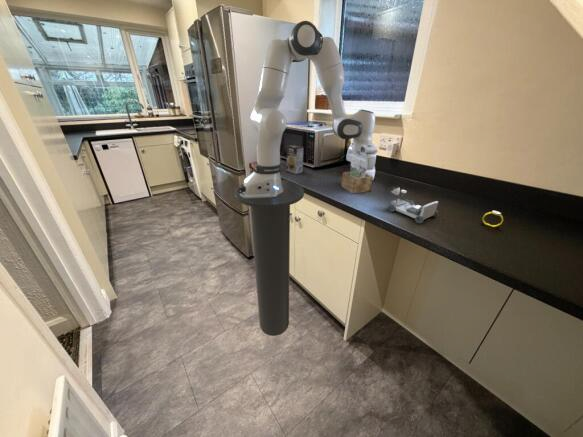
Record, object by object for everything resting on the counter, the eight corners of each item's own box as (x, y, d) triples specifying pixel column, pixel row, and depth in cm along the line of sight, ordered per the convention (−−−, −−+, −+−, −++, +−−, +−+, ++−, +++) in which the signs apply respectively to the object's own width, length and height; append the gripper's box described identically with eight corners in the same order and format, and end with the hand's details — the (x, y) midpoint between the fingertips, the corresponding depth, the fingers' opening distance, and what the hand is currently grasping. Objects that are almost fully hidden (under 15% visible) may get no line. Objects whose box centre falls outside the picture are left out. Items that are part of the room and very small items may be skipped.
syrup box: (363, 185, 123) (368, 157, 117) (356, 187, 120) (360, 159, 114) (355, 182, 127) (359, 155, 121) (347, 184, 124) (351, 156, 118)
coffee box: (286, 170, 152) (286, 145, 145) (293, 169, 156) (293, 144, 149) (295, 174, 146) (296, 148, 139) (302, 172, 150) (303, 146, 143)
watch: (479, 224, 92) (485, 210, 89) (480, 221, 94) (486, 208, 91) (498, 229, 88) (505, 215, 85) (499, 226, 90) (506, 213, 87)
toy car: (387, 187, 99) (403, 182, 105) (382, 207, 104) (398, 202, 110) (428, 201, 86) (444, 195, 92) (421, 224, 91) (436, 217, 97)
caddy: (352, 193, 119) (354, 178, 115) (341, 186, 128) (342, 172, 124) (370, 191, 122) (373, 176, 118) (358, 184, 131) (360, 170, 128)
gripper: (345, 142, 122) (342, 168, 129) (368, 150, 105) (363, 179, 112) (355, 142, 124) (351, 167, 131) (380, 149, 107) (374, 178, 114)
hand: (357, 173), depth 121 cm, fingers closed on syrup box, 6 cm apart
